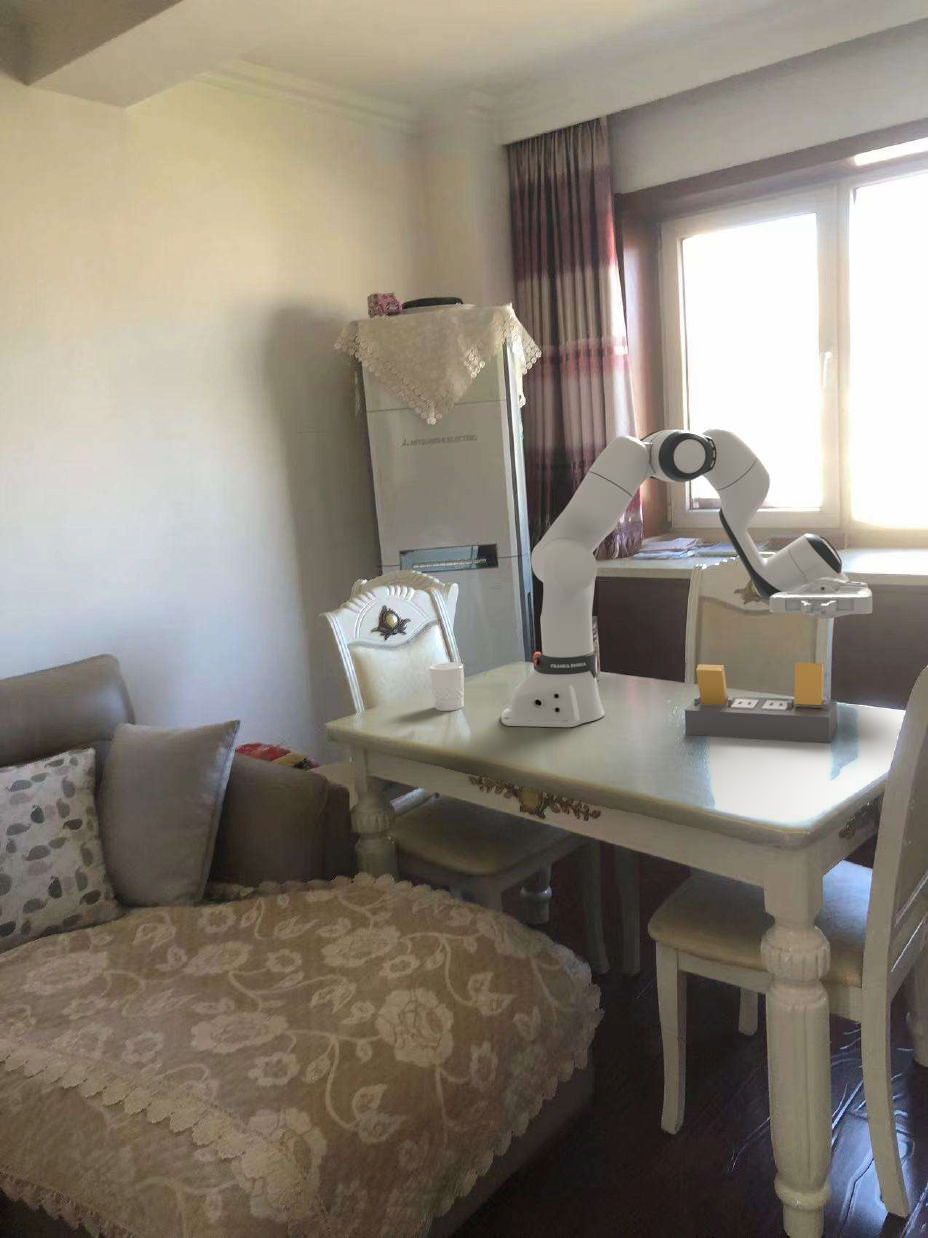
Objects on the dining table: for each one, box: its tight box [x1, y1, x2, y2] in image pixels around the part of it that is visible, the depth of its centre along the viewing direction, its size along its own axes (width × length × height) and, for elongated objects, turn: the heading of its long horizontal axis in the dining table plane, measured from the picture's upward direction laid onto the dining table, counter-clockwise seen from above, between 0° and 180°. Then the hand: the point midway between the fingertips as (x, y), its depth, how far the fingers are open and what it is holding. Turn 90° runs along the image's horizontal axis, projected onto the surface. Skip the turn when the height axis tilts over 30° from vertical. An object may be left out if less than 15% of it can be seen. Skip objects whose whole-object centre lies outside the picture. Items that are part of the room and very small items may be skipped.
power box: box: [684, 694, 838, 744], centre depth 196 cm, size 27×12×6 cm, turn 63°
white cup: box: [429, 661, 465, 712], centre depth 232 cm, size 8×8×10 cm
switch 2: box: [793, 662, 825, 706], centre depth 192 cm, size 5×2×8 cm, turn 63°
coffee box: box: [592, 615, 601, 682], centre depth 245 cm, size 9×6×16 cm
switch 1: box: [695, 664, 729, 704], centre depth 198 cm, size 5×2×8 cm, turn 63°
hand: (815, 609), depth 200 cm, fingers closed
